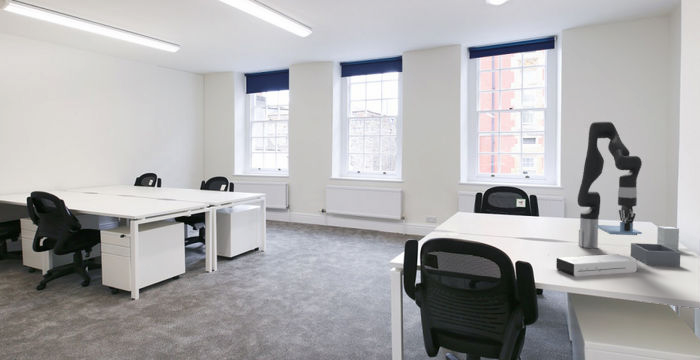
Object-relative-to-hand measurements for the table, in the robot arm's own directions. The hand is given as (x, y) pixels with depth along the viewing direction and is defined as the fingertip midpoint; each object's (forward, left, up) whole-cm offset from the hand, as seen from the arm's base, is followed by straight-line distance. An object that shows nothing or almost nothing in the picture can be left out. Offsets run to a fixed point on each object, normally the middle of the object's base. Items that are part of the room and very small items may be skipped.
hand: (626, 230), depth 192 cm
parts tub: (+17, +11, -17) cm, 27 cm away
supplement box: (+37, +42, -18) cm, 58 cm away
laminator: (-18, -14, -18) cm, 29 cm away
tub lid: (0, +10, -3) cm, 10 cm away
